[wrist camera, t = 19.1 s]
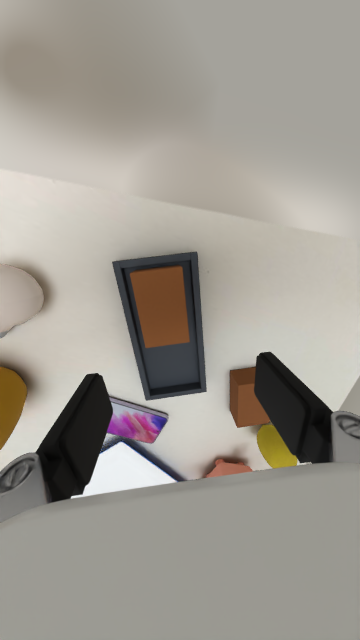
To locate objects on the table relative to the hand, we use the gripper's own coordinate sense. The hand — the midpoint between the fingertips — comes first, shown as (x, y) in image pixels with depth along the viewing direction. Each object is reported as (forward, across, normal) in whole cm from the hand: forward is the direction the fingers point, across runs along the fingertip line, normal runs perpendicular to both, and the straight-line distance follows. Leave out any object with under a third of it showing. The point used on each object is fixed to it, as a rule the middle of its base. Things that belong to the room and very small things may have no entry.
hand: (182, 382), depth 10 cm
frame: (+14, +1, +3) cm, 15 cm away
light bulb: (+14, +19, -4) cm, 24 cm away
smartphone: (+14, +11, +18) cm, 26 cm away
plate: (+14, +16, +38) cm, 43 cm away
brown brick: (+14, -11, +16) cm, 24 cm away
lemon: (+14, -15, +26) cm, 33 cm away
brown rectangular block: (+14, +1, -1) cm, 14 cm away
